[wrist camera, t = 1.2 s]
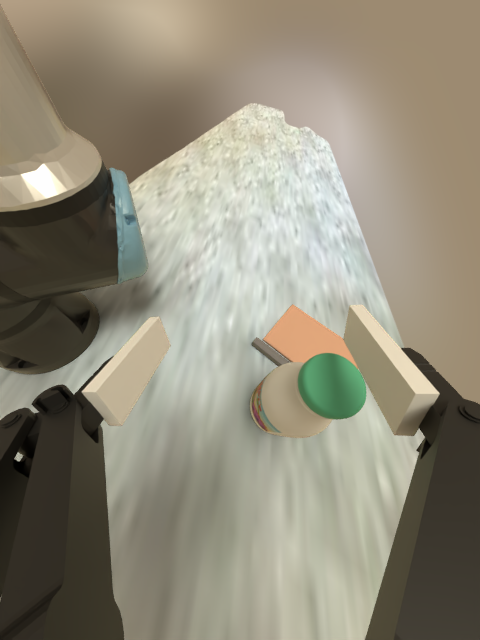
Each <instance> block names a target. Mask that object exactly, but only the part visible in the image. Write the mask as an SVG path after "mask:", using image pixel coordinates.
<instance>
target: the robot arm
mask: <svg viewBox="0 0 480 640" xmlns="http://www.w3.org/2000/svg"><path fill="white" fill-rule="evenodd" d="M147 269H148V260H147V255H146V251H145V247H144V243H143V238H142V234H141V230H140V226H139V222H138V218H137V214H136V210H135V206H134V202H133V198H132V195H131V191H130V187H129V184H128V181H127V177H126V175H125V173H124V172H122V171H121V170H116V169H114V168H113V169H112V168H110V169H109V170H107V169H106V167H105V166H104V163H103V161H102V159H101V157H100V154H99V152H98V151H97V149H96V148H95V146H94V145H93V144H92V143H90V142H89V141H88V140H86V139H85V138H83V137H81V136H80V135H78V134H77V133H75V132H74V131H72V130H70V129H69V128H68V127H67V126H66V125H65V124H64V123H63V122H62V120H61V118H60V116H59V114H58V112H57V110H56V108H55V106H54V104H53V103H52V101H51V99H50V97H49V95H48V93H47V91H46V89H45V88H44V86H43V84H42V82H41V80H40V78H39V76H38V75H37V73H36V71H35V69H34V67H33V65H32V63H31V61H30V59H29V58H28V56H27V54H26V52H25V50H24V48H23V46H22V44H21V43H20V41H19V39H18V37H17V35H16V33H15V31H14V29H13V27H12V26H11V24H10V22H9V20H8V18H7V16H6V14H5V13H4V11H3V9H2V7H1V5H0V367H2V368H4V369H7V370H11V371H14V372H18V373H23V374H39V373H45V372H49V371H52V370H55V369H58V368H60V367H62V366H64V365H66V364H68V363H69V362H71V361H72V360H74V359H75V358H77V357H78V356H79V355H80V354H81V353H82V352H83V351H84V350H85V349H86V348H87V347H88V346H89V345H90V343H91V342H92V340H93V339H94V337H95V335H96V333H97V330H98V326H99V314H98V311H97V309H96V307H95V306H94V304H93V303H92V302H91V301H90V300H88V299H87V298H86V297H85V296H84V295H83V294H81V293H79V292H80V291H84V290H89V289H94V288H99V287H104V286H109V285H113V284H121V283H122V282H123V281H127V280H130V279H133V278H137V277H140V276H142V275H143V274H144V273H145V272H146V271H147ZM343 340H344V342H345V344H346V346H347V348H348V349H349V351H350V353H351V355H352V357H353V359H354V361H355V363H356V365H357V366H358V368H359V370H360V372H361V374H362V376H363V378H364V380H365V381H366V383H367V385H368V387H369V389H370V391H371V393H372V395H373V396H374V398H375V400H376V402H377V404H378V406H379V408H380V410H381V411H382V413H383V415H384V417H385V419H386V421H387V423H388V425H389V426H390V428H391V430H392V432H393V434H394V435H404V436H414V435H415V434H416V432H417V430H418V429H419V428H420V430H421V431H422V433H423V435H424V436H425V438H424V440H423V441H422V443H421V444H420V446H419V447H418V449H417V450H416V451H418V452H419V455H418V459H417V462H416V466H415V469H414V473H413V476H412V480H411V483H410V486H409V490H408V493H407V497H406V500H405V504H404V507H403V511H402V514H401V518H400V521H399V524H398V528H397V531H396V535H395V538H394V542H393V545H392V549H391V552H390V556H389V559H388V563H387V566H386V569H385V573H384V576H383V580H382V583H381V587H380V590H379V594H378V597H377V601H376V604H375V607H374V611H373V614H372V618H371V621H370V625H369V628H368V632H367V635H366V638H365V640H480V405H479V404H478V403H476V402H472V401H469V400H466V399H463V398H462V397H461V396H460V395H459V394H458V392H457V391H456V390H455V389H454V388H453V387H452V386H451V385H450V384H449V383H448V382H447V381H446V380H445V379H444V378H443V377H442V376H441V375H440V374H439V373H438V372H436V370H435V369H434V368H433V367H432V365H429V362H428V361H427V360H426V359H424V357H423V356H422V355H421V354H419V353H417V352H416V351H414V350H413V349H411V348H400V347H399V346H398V345H397V344H396V343H395V342H394V340H393V339H392V338H391V337H390V336H389V335H388V333H387V332H386V331H385V330H384V329H383V328H382V327H381V325H380V324H379V323H378V322H377V321H376V320H375V319H374V317H373V316H372V315H371V314H370V313H369V312H368V310H367V309H366V308H365V307H364V306H363V305H351V306H349V312H348V317H347V323H346V328H345V333H344V339H343ZM170 346H171V345H170V342H169V340H168V337H167V335H166V332H165V330H164V327H163V325H162V322H161V320H160V317H150V318H149V319H148V320H147V321H146V322H145V323H144V324H143V325H142V326H141V327H140V329H139V330H138V331H137V332H136V333H135V334H134V335H133V336H132V337H131V338H130V339H129V341H128V342H127V343H126V344H125V345H124V346H123V347H122V348H121V349H120V350H119V351H118V353H117V354H116V355H115V356H113V357H111V358H110V359H108V360H107V361H106V362H104V363H103V364H102V366H101V367H100V368H99V369H98V370H97V371H96V372H95V373H94V374H93V376H91V377H90V378H89V379H88V380H87V381H86V383H85V384H84V385H83V386H82V387H81V388H80V389H79V390H78V391H77V392H76V393H75V394H74V395H73V393H72V392H71V391H70V390H69V389H68V388H67V387H66V386H65V385H57V386H54V387H51V388H49V389H47V390H45V391H44V392H42V393H41V394H40V395H38V396H37V397H36V398H35V399H34V401H33V403H32V405H33V406H34V407H35V408H36V409H37V410H38V411H39V412H38V413H35V414H34V413H33V412H32V411H31V410H30V409H28V408H22V409H18V410H16V411H14V412H11V413H10V414H8V415H6V416H5V417H4V418H3V419H1V420H0V597H1V595H2V597H1V601H0V640H124V631H123V623H122V618H121V614H120V610H119V608H118V606H117V604H116V602H115V600H114V596H113V587H112V571H111V556H110V540H109V524H108V509H107V493H106V477H105V462H104V446H103V431H102V427H101V426H100V423H101V422H102V421H103V419H104V420H105V421H106V422H107V424H108V425H111V426H122V425H123V423H124V421H125V420H126V418H127V417H128V415H129V413H130V412H131V410H132V408H133V407H134V405H135V403H136V402H137V400H138V399H139V397H140V395H141V394H142V392H143V390H144V389H145V387H146V385H147V384H148V382H149V381H150V379H151V377H152V376H153V374H154V372H155V371H156V369H157V367H158V366H159V364H160V362H161V361H162V359H163V358H164V356H165V354H166V353H167V351H168V349H169V348H170ZM18 452H19V453H20V454H22V455H23V457H22V459H21V461H20V462H18V461H16V460H15V459H14V458H15V456H16V454H17V453H18Z"/></svg>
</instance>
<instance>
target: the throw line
mask: <svg viewBox="0 0 480 640" xmlns="http://www.w3.org/2000/svg"><path fill="white" fill-rule="evenodd" d="M252 346H254V347H255V348H256V349H257V350H259V351H260V352H261V353H263V354H264V355H265V356H266V357H268V358H269V359H270V360H271V361H273V362H274V363H275V364H276V365H278V366H281V365H283V364H286V363H290V362H289V361H287V360H286V359H285V358H283V357H282V356H281V355H279V354H278V353H277V352H276V351H274V350H273V349H272V348H270V347H269V346H268V345H266V344H265V343H264V342H263V341H261V340H260V339H259V338H256V339H255V340H254V341H253V343H252Z"/></svg>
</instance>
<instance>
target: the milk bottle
mask: <svg viewBox="0 0 480 640" xmlns="http://www.w3.org/2000/svg"><path fill="white" fill-rule="evenodd" d="M365 399H366V386H365V382H364V379H363V377H362V375H361V373H360V372H359V370H358V369H357V368H356V366H355V365H354V364H353V363H351V362H350V361H349V360H348V359H346V358H344V357H343V356H340V355H338V354H334V353H321V354H318V355H315V356H313V357H312V358H310V359H309V360H308V361H306V362H305V363H302V362H291V363H286V364H283V365H281V366H279V367H277V368H275V369H274V370H273V371H272V372H270V373H269V374H268V375H267V376H266V377H265V378H264V380H263V381H262V382H261V383H260V384H259V385H258V386H257V388H256V389H255V390H254V392H253V394H252V396H251V400H250V411H251V415H252V417H253V420H254V421H255V423H256V424H257V425H258V426H259V427H260V428H261V429H262V430H263V431H265V432H267V433H270V434H273V435H279V436H285V437H293V438H305V437H310V436H314V435H316V434H318V433H320V432H321V431H323V430H324V429H325V428H326V427H327V426H328V425H329V424H330V423H331V421H332V420H333V419H344V418H349V417H351V416H353V415H355V414H356V413H357V412H359V411H360V410H361V408H362V407H363V405H364V403H365Z"/></svg>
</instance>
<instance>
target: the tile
mask: <svg viewBox="0 0 480 640" xmlns="http://www.w3.org/2000/svg"><path fill="white" fill-rule="evenodd" d="M263 341H265V342H266V343H267V344H268V345H270V346H271V347H272V348H274V349H275V350H276V351H278V352H279V353H280V354H282V355H283V356H284V357H285V358H287V359H288V360H289V361H291V362H302V363H305V362H306V361H308V360H309V359H310V358H312V357H313V356H315V355H318V354H321V353H334V354H338V355H340V356H343V357H344V358H346V359H348V360H349V361H350V362H351V363H353V364H354V365H355V366H356V368H357V369H358V366H357V365H356V363H355V361H354V359H353V357H352V355H351V353H350V351H349V349H348V348H347V346H346V344H345V342H344V340H343V338H341V337H340V336H338V335H337V334H335V333H334V332H332V331H331V330H329V329H328V328H326V327H325V326H323V325H322V324H321V323H319V322H318V321H316V320H315V319H313V318H312V317H310V316H309V315H307V314H306V313H304V312H303V311H301V310H300V309H299V308H297V307H296V306H294V305H293V304H292V306H291V307H290V308H289V309H288V310H287V312H286V313H285V314H284V315H283V316H282V317H281V319H280V320H279V321H278V322H277V323H276V325H275V326H274V327H273V328H272V329H271V331H270V332H269V333H268V334H267V335H266V337H265V338H264V339H263Z"/></svg>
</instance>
